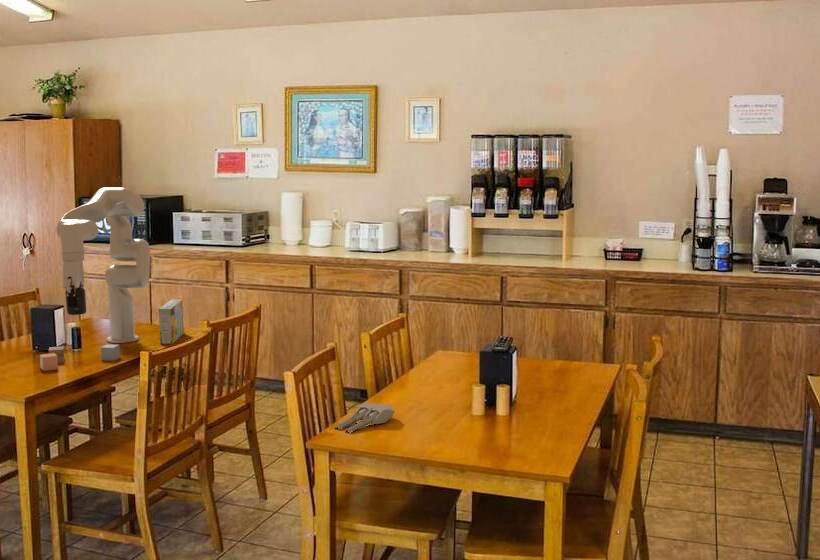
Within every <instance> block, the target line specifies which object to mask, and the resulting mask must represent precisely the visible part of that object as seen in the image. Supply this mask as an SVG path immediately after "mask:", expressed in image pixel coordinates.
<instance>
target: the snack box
mask: <svg viewBox="0 0 820 560" xmlns="http://www.w3.org/2000/svg"><path fill="white" fill-rule="evenodd" d="M183 308H184V307H183V299H170V300H169V301H167V302H165V304H163V305H162V306H161V307H160V308H158V321H159V322H158V323H159V335H160V337H159V338H160V345H173V344H174V343H175V342H176V341H177V340H179V338H181V337H182V335H184V334H185V326H184V311H183Z"/></svg>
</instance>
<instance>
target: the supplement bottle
mask: <svg viewBox="0 0 820 560" xmlns="http://www.w3.org/2000/svg"><path fill="white" fill-rule="evenodd" d="M81 286H82V281H81V282H80V286H79V287H78V288H76V296H77V307H68V299H67V290H66V289H65V292H64V293H65V294H64V295H65V307H66V314H67V315H69V316H70V315H71V316H81V315H84V314H86V313H87V297H86V290H85V288H84V287H83V288H82V287H81ZM71 287H74V286H71ZM73 292H74V290H73Z"/></svg>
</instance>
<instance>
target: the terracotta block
mask: <svg viewBox="0 0 820 560" xmlns="http://www.w3.org/2000/svg"><path fill="white" fill-rule="evenodd" d="M39 363H40V364H39V365H40V367H39V368H40V369H41V370H42V371H43V372H45V371H53V370H59V363H58V360H57V355H56V354H55V353H51V354H49V353H43V354H39Z"/></svg>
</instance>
